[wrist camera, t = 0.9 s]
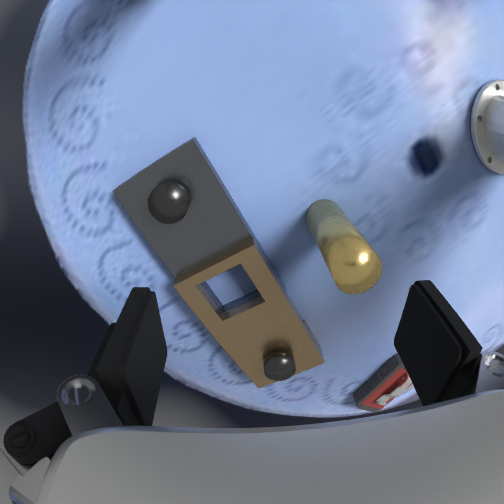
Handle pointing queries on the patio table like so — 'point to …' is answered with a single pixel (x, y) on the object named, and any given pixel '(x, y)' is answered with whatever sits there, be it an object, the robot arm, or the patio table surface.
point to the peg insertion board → (218, 263)
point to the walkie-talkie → (383, 386)
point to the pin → (343, 248)
